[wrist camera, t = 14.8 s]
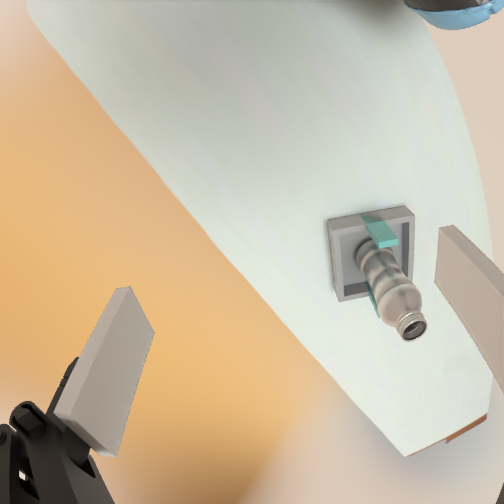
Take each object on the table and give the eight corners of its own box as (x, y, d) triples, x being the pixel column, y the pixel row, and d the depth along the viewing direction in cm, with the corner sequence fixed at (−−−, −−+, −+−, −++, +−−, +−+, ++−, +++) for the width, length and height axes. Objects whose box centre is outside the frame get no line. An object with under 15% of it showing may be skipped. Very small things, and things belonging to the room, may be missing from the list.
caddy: (326, 219, 51) (340, 249, 42) (405, 205, 49) (431, 231, 41) (334, 288, 58) (346, 325, 49) (404, 273, 56) (424, 306, 47)
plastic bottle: (394, 247, 52) (445, 322, 35) (369, 274, 55) (408, 355, 37) (371, 227, 50) (421, 301, 33) (344, 256, 53) (380, 338, 36)
